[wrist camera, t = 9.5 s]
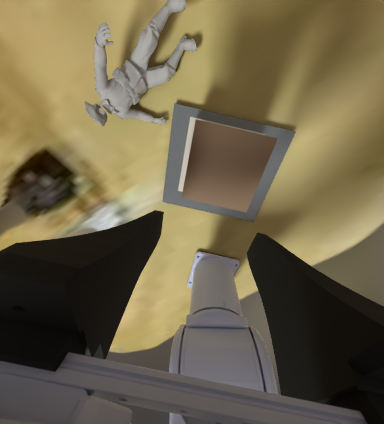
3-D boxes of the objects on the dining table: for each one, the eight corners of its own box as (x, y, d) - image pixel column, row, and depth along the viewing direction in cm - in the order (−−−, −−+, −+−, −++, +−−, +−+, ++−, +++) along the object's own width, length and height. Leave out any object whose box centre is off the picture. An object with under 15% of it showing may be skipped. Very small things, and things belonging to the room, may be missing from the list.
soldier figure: (207, 84, 15) (135, 160, 16) (183, 77, 18) (121, 144, 18) (174, -55, 9) (51, 85, 9) (142, -35, 11) (46, 75, 12)
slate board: (252, 220, 21) (253, 222, 20) (163, 200, 21) (162, 201, 20) (292, 132, 16) (295, 131, 15) (175, 104, 16) (174, 103, 15)
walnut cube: (233, 192, 15) (246, 212, 10) (188, 182, 15) (181, 197, 10) (251, 142, 13) (277, 138, 8) (198, 129, 12) (195, 119, 8)
